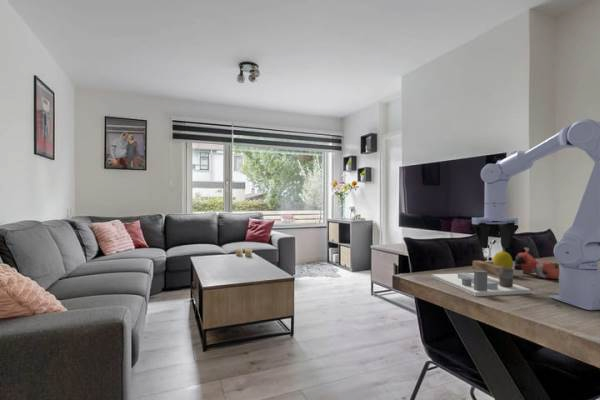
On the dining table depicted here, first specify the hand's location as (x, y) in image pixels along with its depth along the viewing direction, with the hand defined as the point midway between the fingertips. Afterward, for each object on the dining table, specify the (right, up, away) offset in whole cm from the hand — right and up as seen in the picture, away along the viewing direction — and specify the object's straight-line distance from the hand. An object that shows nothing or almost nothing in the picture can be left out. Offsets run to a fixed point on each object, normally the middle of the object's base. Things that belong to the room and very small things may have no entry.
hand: (494, 247), depth 97 cm
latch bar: (-4, -9, -4) cm, 11 cm away
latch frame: (-8, -10, -5) cm, 14 cm away
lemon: (+8, -11, +9) cm, 16 cm away
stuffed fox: (+19, -11, +7) cm, 23 cm away
